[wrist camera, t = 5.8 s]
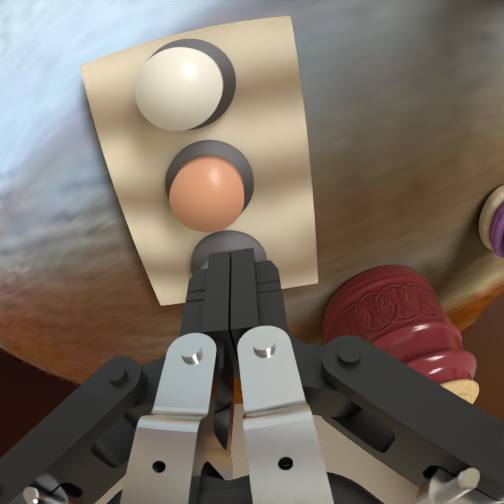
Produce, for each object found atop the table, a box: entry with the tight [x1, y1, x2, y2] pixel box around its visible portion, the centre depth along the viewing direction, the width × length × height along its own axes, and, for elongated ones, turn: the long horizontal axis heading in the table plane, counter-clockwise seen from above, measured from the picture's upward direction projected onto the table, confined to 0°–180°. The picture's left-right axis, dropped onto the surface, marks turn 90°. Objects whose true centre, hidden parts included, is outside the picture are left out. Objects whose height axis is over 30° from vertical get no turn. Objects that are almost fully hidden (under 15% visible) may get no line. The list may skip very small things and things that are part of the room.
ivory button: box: [135, 47, 223, 131], centre depth 16 cm, size 5×5×2 cm
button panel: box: [80, 16, 318, 306], centre depth 23 cm, size 21×14×3 cm, turn 9°
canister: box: [323, 265, 479, 404], centre depth 26 cm, size 13×13×18 cm
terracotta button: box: [169, 154, 244, 232], centre depth 20 cm, size 5×5×2 cm
